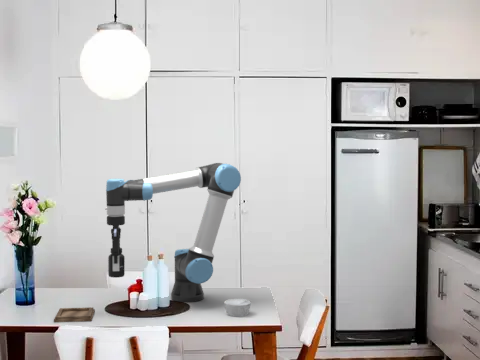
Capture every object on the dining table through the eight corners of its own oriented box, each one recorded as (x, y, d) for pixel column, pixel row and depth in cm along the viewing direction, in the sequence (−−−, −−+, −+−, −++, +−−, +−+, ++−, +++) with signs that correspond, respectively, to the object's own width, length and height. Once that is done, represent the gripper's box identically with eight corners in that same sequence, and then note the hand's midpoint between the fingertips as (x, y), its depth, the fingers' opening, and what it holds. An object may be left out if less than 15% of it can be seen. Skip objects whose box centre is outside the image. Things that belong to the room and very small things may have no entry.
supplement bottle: (121, 278, 302) (120, 249, 301) (105, 277, 304) (105, 249, 303) (127, 274, 309) (126, 247, 308) (112, 274, 310) (111, 246, 309)
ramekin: (252, 316, 302) (252, 304, 301) (226, 318, 300) (226, 305, 300) (248, 310, 313) (248, 298, 312) (222, 311, 311) (222, 299, 311)
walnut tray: (94, 311, 309) (94, 307, 309) (91, 321, 294) (91, 316, 294) (58, 312, 307) (58, 307, 307) (53, 322, 292) (53, 317, 292)
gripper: (108, 212, 314) (109, 264, 315) (105, 218, 294) (105, 274, 296) (125, 212, 314) (126, 264, 316) (123, 218, 295) (124, 273, 297)
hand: (116, 269), depth 306 cm, fingers closed on supplement bottle, 7 cm apart
